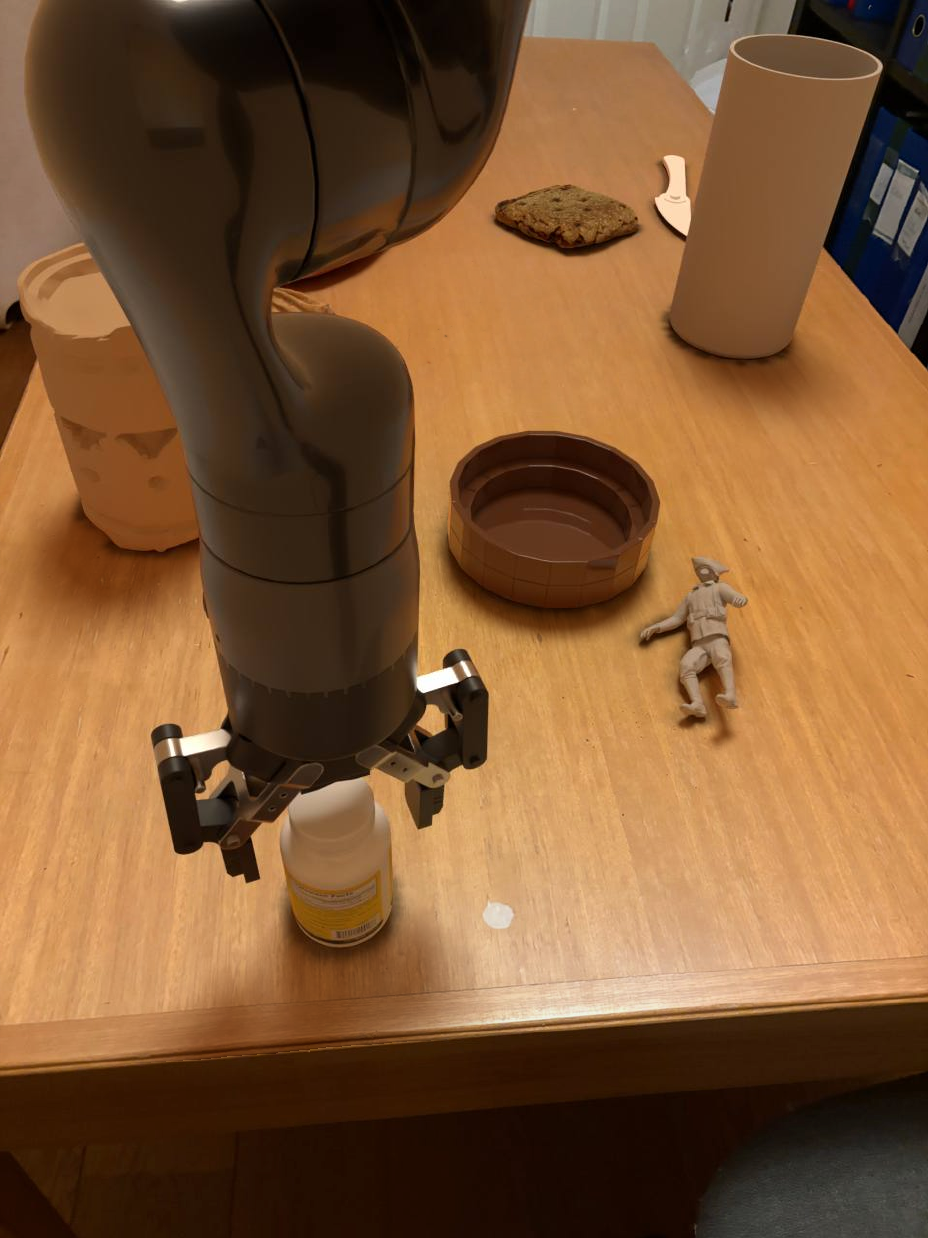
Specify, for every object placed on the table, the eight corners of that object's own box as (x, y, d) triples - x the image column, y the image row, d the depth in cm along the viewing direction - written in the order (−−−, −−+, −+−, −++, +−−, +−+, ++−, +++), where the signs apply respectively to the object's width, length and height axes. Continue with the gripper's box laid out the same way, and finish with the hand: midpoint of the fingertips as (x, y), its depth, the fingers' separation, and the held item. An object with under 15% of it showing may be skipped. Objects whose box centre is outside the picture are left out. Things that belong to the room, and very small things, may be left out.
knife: (654, 158, 127) (656, 150, 127) (687, 162, 127) (688, 154, 126) (653, 239, 109) (655, 230, 109) (690, 243, 109) (692, 234, 108)
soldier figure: (639, 721, 61) (629, 560, 66) (679, 739, 64) (666, 584, 69) (748, 693, 56) (728, 522, 61) (786, 714, 59) (763, 550, 64)
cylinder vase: (652, 341, 93) (713, 60, 75) (686, 290, 101) (749, 25, 83) (776, 375, 90) (870, 90, 72) (801, 319, 98) (891, 50, 80)
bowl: (683, 586, 68) (699, 534, 65) (494, 635, 64) (500, 583, 60) (590, 466, 78) (599, 416, 74) (419, 502, 74) (420, 450, 70)
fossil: (345, 340, 90) (255, 317, 90) (348, 290, 86) (253, 266, 85) (310, 423, 83) (213, 399, 83) (311, 374, 79) (208, 348, 79)
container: (177, 576, 67) (123, 349, 54) (49, 515, 70) (-31, 289, 57) (284, 484, 74) (260, 267, 61) (163, 434, 78) (116, 220, 65)
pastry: (645, 259, 106) (651, 233, 104) (494, 250, 106) (496, 224, 103) (630, 197, 118) (634, 173, 116) (494, 189, 118) (495, 165, 115)
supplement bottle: (326, 842, 52) (314, 737, 45) (410, 883, 51) (412, 781, 44) (271, 922, 49) (249, 823, 42) (360, 969, 47) (353, 874, 40)
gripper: (127, 739, 29) (203, 958, 41) (536, 633, 33) (499, 859, 45) (98, 582, 34) (174, 818, 46) (460, 505, 38) (445, 740, 50)
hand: (336, 838), depth 45 cm, fingers open, 8 cm apart
